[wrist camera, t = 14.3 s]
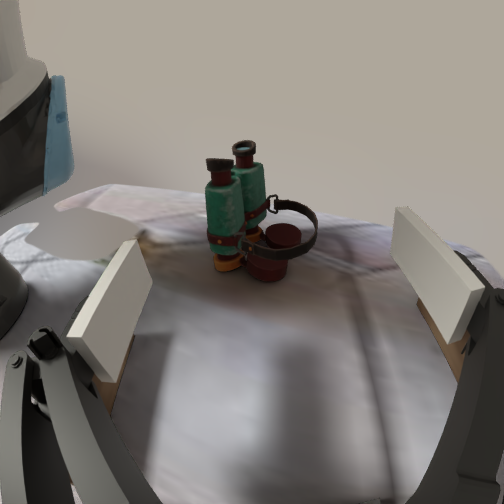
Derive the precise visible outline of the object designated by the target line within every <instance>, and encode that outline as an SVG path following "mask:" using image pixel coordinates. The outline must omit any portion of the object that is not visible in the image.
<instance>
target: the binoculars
mask: <svg viewBox="0 0 504 504" xmlns="http://www.w3.org/2000/svg"><path fill="white" fill-rule="evenodd" d="M232 151H233V155H235V156H236V165H234V160H231V159H215V158H214V159H213V158H209V159H206V163H207V170H208V171H210V172H211V179H212V180H211V181H210V182H209V183H208V184H207V186H206V188H205V197H206V211H207V224H208V228H207V236H208V240H209V243H210V249H211V251H212V252H214V253H216V254H215V255H214V264H215V268H216V269H217V270H218V271H229V270H233V269H235V268H238V267H239V266H241V265H242V266H244V267H246V268H247V270H248V272H249V273H250V274H251V275H252V276H254V277H255V278H257V279H260V280H263V281H277V280H280V279H282V278H283V277H284V276H285V274H286V269H287V263H288V260H290V259H292V258H295V257H298V256H300V255H303V254H305V253H307V252H308V251H309V250H310V249H311V248H312V247H313V245H314V244H315V241H316V238H317V229H318V220H317V218H316V215H315V213H314V212H313V211H312V210H311V209H309V208H308V207H307V206H305V205H303V204H301V203H298V202H295V201H289V200H279V199H278V196H277V195H276V194H275V195H270V196H269V197H268V198H267V199H266V192H265V179H264V169H263V165H262V164H261V163H258V162H253V155H254V154H255V153H256V144H255V142H253V141H250V140H244V141H240V142H237V143H235V144H234V145H233V146H232ZM271 197H276V199H275V200H274V209H275V210H276V212H275V211H272V210H270V198H271ZM266 209H267V210H268V211H269V212H271V213H274V214H277V213H278V210H286V209H288V210H293V211H297V212H299V213H301V214H303V215H305V216H307V217H308V218H309V219H310V220H311V221H312V222H313V224H314V227H315V233H314V235H313V236H312V237H311V238H310V239H309V240H308V241H307V242H305V243H302V244H300V243H301V232H300V230H299V229H298V228H297V227H296V226H294V225H291V224H287V223H279V224H274V225H271V226H269V227H268V228H267V229H266V231H265V234H264V233H263V230H262V229H261V228H260V227H259V226H258V224H259V223H260V222H261V221H262V220H264V219H265V217H266V213H267V210H266ZM261 239H262V240H264V241H266V244H267V245H268V247H269V248H266V247H262V246H260V245H257V244H255V243H254V242H257V241H259V240H261ZM240 248H241V249H242V250H241V249H240ZM243 251H244V252H243ZM247 252H248V254H247ZM246 254H247V261H246V260H245V255H246Z"/></svg>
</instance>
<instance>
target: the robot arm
mask: <svg viewBox="0 0 504 504" xmlns="http://www.w3.org/2000/svg"><path fill="white" fill-rule="evenodd" d="M73 171H74V159H73V153H72V146H71V138H70V131H69V122H68V114H67V103H66V91H65V79H64V77H63V76H52V77H51V78H50V79H49V77H48V73H47V68H46V65H45V63H44V62H42V61H40V60H36V59H33V58H30V57H28V56H27V53H26V48H25V43H24V37H23V32H22V26H21V19H20V11H19V2H18V0H0V217H1V216H3V215H5V214H7V213H9V212H11V211H12V210H14V209H16V208H18V207H20V206H22V205H24V204H26V203H28V202H30V201H32V200H34V199H36V198H38V197H40V196H45V195H46V194H47V192H49V191H50V190H52V189H54V188H56V187H58V186H60V185H62V184H64V183H65V182H67V181H68V180H69V178H70V177H71V176H72V174H73ZM390 255H391V256H392V257H393V259H394V260H395V262H396V263H397V264H398V266H399V267H400V269H401V270H402V272H403V273H404V275H405V276H406V278H407V279H408V281H409V282H410V284H411V285H412V287H413V288H414V290H415V291H416V293H417V294H418V296H419V298H420V299H421V301H422V302H423V304H424V305H425V307H426V309H427V310H428V312H429V314H430V315H431V317H432V319H433V320H434V322H435V324H436V325H437V327H438V329H439V331H440V332H441V334H442V336H443V338H444V339H445V341H446V343H447V345H448V344H450V343H453V342H456V341H459V340H461V339H462V337H463V335H464V333H465V331H466V329H467V331H468V332H469V334H470V337H469V339H468V340H467V342H466V344H465V346H464V348H463V349H462V352H461V354H463V353H464V351H465V350H466V351H465V356H464V361H463V366H462V370H461V374H460V378H459V382H458V386H457V390H456V393H455V397H454V400H453V404H452V407H451V410H450V413H449V416H448V419H447V422H446V425H445V428H444V431H443V433H442V436H441V439H440V441H439V444H438V446H437V449H436V451H435V453H434V456H433V458H432V460H431V462H430V465H429V467H428V469H427V471H426V473H425V475H424V477H423V479H422V481H421V483H420V485H419V487H418V489H417V490H416V492H415V493H414V494H413V495H412V496H411V498H410V499H409V500H408V501H407V502H406V503H405V504H496V503H497V500H498V498H499V494H500V485H499V484H498V483H497V482H496V474H497V471H498V467H499V464H500V461H501V457H502V454H503V450H504V289H500V288H496V289H494V288H493V287H492V286H491V285H490V283H489V282H488V281H487V280H486V279H485V278H484V276H483V275H482V274H481V273H480V272H479V271H478V270H477V269H476V267H475V266H474V265H473V264H471V262H470V261H469V260H468V259H467V258H466V257H465V256H464V255H462V254H461V253H459V252H458V251H453V250H452V249H451V248H450V247H449V246H448V245H447V244H446V243H445V242H444V241H443V240H442V239H441V238H440V237H439V236H438V235H437V234H436V233H435V232H434V231H433V230H432V229H431V228H430V227H429V226H428V225H427V224H426V223H425V222H424V221H423V220H422V219H421V218H420V217H419V216H418V215H416V214H415V213H414V212H413V211H412V210H411V209H410V208H409V207H396V208H395V216H394V225H393V234H392V242H391V250H390ZM152 284H153V281H152V279H151V276H150V273H149V271H148V268H147V266H146V263H145V261H144V258H143V255H142V253H141V250H140V247H139V245H138V242H137V240H131V241H124V242H123V244H122V245H121V247H120V248H119V250H118V251H117V253H116V254H115V256H114V257H113V259H112V260H111V262H110V263H109V265H108V266H107V268H106V269H105V271H104V273H103V274H102V276H101V277H100V279H99V281H98V282H97V284H96V285H95V287H94V289H93V290H92V292H91V294H90V295H89V296H87V297H86V298H85V299H84V300H83V301H82V302H81V303H80V304H79V305H78V307H77V309H76V310H75V313H74V314H73V316H72V317H71V320H70V321H69V323H68V324H67V326H66V328H65V330H64V332H63V333H62V335H61V337H60V339H59V338H58V337H57V335H56V334H55V333H54V331H53V330H52V328H51V327H49V326H42V327H40V328H38V329H37V330H35V331H34V332H33V333H32V335H31V336H30V337H29V340H28V343H27V346H28V347H29V348H30V350H31V351H32V352H33V353H34V355H35V356H36V357H33V358H30V357H29V356H28V354H27V353H26V352H25V351H23V350H21V351H18V352H16V353H14V354H13V355H12V356H11V357H10V359H9V361H8V363H7V367H6V372H5V378H4V385H3V392H2V400H1V410H0V487H1V496H2V504H75V501H74V497H73V493H72V488H71V483H70V478H69V474H70V476H71V479H72V481H73V484H74V486H75V488H76V490H77V493H78V495H79V497H80V499H81V501H82V503H83V504H163V503H162V502H161V501H160V499H159V498H158V497H157V495H156V494H155V492H154V491H153V489H152V488H151V487H150V485H149V484H148V482H147V481H146V479H145V478H144V476H143V474H142V473H141V471H140V470H139V468H138V467H137V465H136V463H135V462H134V460H133V458H132V457H131V455H130V453H129V451H128V450H127V448H126V446H125V444H124V443H123V441H122V439H121V437H120V435H119V433H118V431H117V429H116V427H115V425H114V423H113V421H112V419H111V417H110V415H109V413H108V411H107V409H106V407H105V405H104V403H103V400H102V398H101V396H100V394H99V391H98V389H97V386H96V384H95V383H94V382H93V381H92V378H93V376H94V373H95V375H96V376H97V377H98V378H99V379H100V380H101V382H111V383H116V382H117V379H118V376H119V373H120V370H121V367H122V364H123V361H124V358H125V355H126V352H127V349H128V346H129V344H130V341H131V338H132V335H133V333H134V330H135V327H136V324H137V322H138V319H139V317H140V314H141V311H142V309H143V306H144V304H145V301H146V299H147V296H148V294H149V291H150V289H151V286H152ZM27 296H28V287H27V285H26V283H25V281H24V280H23V278H22V276H21V274H20V273H19V272H18V271H17V270H16V269H15V268H14V267H13V266H12V265H11V263H10V262H9V261H8V260H7V259H6V258H5V257H4V256H3V255H2V254H1V253H0V339H1V338H2V337H3V335H4V334H5V333H6V332H7V331H8V330H9V329H10V327H11V326H12V325H13V323H14V322H15V321H16V319H17V318H18V316H19V315H20V313H21V311H22V309H23V307H24V305H25V303H26V300H27ZM31 396H32V397H33V398H34V399H35V404H33V403H32V402H31ZM502 504H504V496H503V502H502Z"/></svg>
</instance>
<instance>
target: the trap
mask: <svg viewBox="0 0 504 504" xmlns="http://www.w3.org/2000/svg"><path fill="white" fill-rule="evenodd" d="M359 504H381V502H380V498H377V499H374V500H370V501H367V502H363V503H359Z"/></svg>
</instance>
